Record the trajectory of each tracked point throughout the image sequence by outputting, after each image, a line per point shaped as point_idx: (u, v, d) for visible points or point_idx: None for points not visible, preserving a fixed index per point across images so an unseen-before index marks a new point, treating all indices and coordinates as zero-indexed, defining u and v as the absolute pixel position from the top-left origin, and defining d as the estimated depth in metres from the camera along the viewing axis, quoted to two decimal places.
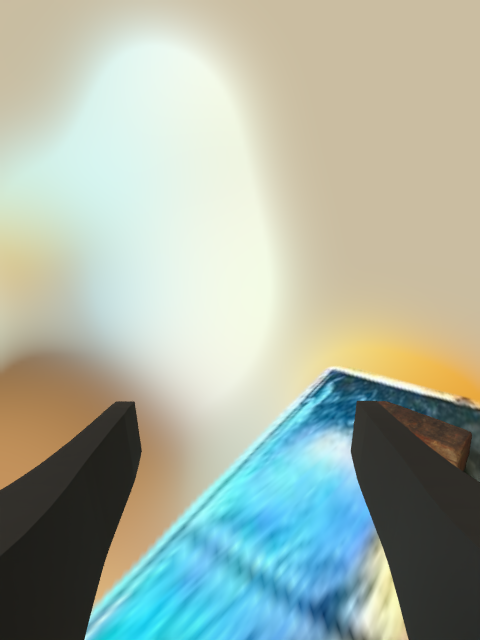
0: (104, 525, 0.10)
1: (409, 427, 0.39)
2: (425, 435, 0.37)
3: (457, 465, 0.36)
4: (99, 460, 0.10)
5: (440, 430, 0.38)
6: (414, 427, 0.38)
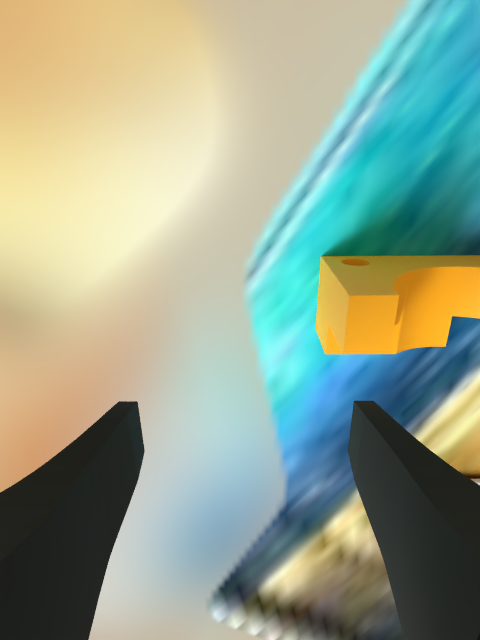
0: (108, 525, 0.10)
1: None
2: None
3: None
4: (103, 460, 0.10)
5: None
6: None
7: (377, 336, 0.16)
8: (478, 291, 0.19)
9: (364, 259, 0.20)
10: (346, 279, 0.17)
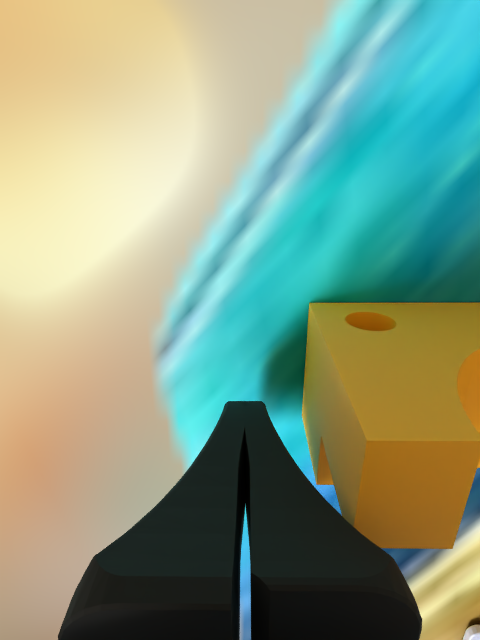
0: (240, 526, 0.10)
1: None
2: None
3: None
4: (241, 460, 0.10)
5: None
6: None
7: (427, 518, 0.07)
8: None
9: (386, 313, 0.11)
10: (356, 375, 0.08)
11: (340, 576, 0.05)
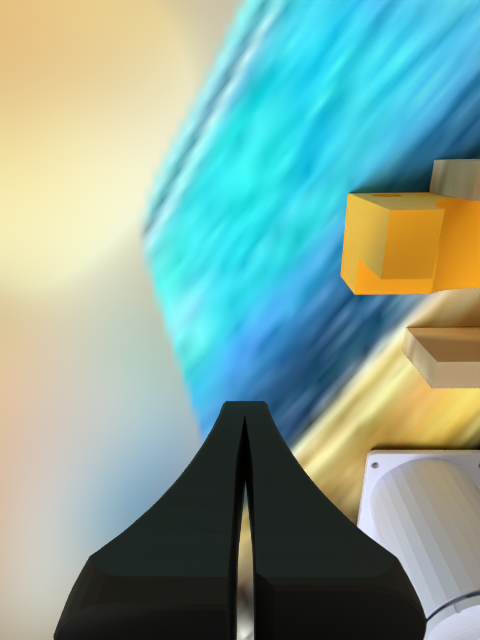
0: (238, 525, 0.10)
1: None
2: None
3: None
4: (238, 460, 0.10)
5: None
6: None
7: (419, 258, 0.15)
8: None
9: (395, 194, 0.19)
10: (382, 203, 0.16)
11: (344, 576, 0.05)
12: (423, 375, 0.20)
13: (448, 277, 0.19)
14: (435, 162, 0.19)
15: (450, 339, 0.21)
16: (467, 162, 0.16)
